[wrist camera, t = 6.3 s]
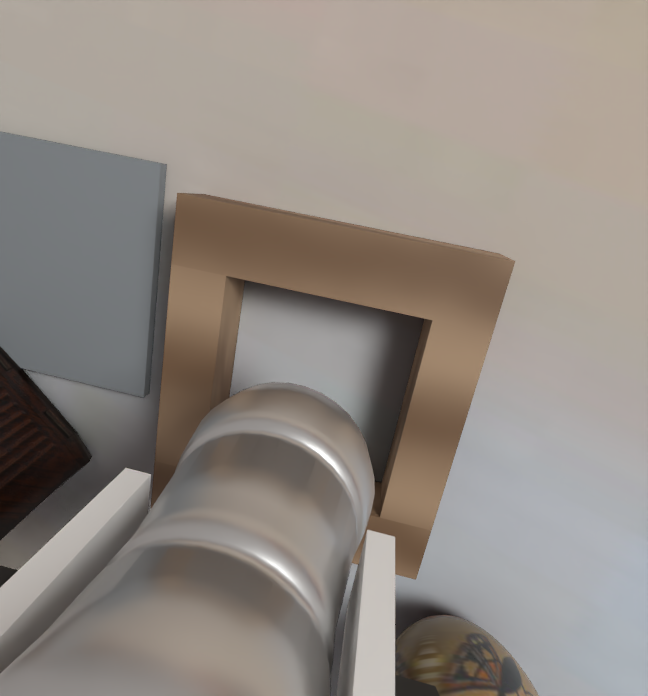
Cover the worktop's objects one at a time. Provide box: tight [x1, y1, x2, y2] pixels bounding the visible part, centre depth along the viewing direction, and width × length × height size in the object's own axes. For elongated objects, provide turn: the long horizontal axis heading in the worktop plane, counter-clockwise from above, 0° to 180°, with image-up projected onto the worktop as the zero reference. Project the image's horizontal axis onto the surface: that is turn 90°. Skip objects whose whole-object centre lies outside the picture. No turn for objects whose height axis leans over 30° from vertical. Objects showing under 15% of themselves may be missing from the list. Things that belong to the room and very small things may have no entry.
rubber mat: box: [0, 132, 167, 397], centre depth 24 cm, size 12×12×1 cm
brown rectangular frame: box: [151, 193, 515, 579], centre depth 23 cm, size 16×14×3 cm
